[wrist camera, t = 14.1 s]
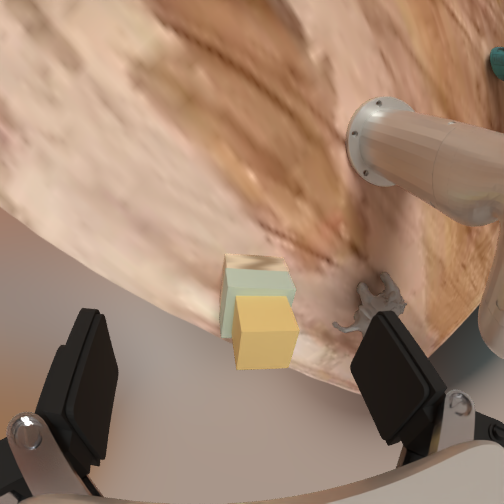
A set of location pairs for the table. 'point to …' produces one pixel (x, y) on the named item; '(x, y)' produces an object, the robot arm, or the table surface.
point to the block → (263, 332)
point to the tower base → (252, 264)
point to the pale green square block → (251, 291)
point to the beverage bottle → (497, 61)
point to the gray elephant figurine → (375, 304)
